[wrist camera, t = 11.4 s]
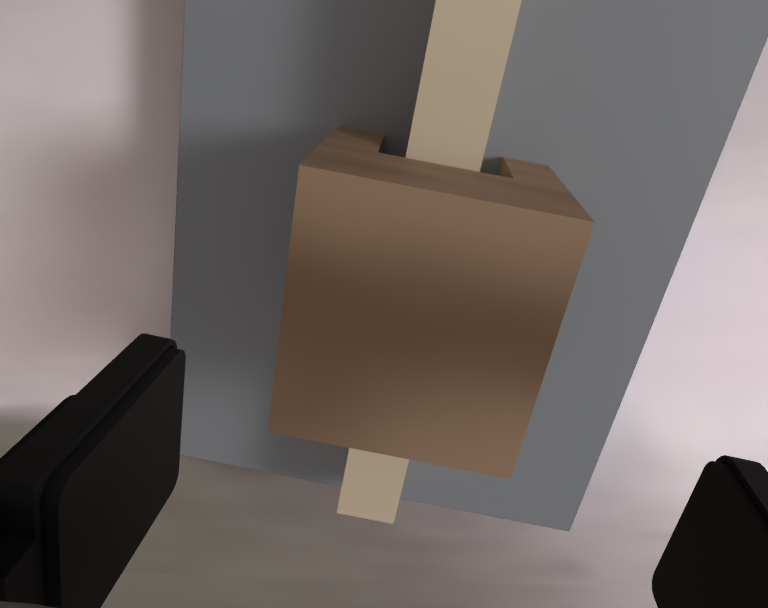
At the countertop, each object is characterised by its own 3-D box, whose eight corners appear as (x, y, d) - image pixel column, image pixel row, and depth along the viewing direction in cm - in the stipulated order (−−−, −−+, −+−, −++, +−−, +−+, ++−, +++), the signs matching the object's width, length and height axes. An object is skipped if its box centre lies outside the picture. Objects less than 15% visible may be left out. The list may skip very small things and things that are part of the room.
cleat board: (561, 504, 26) (583, 583, 22) (180, 429, 26) (137, 495, 22) (772, -41, 17) (861, -59, 14) (211, -153, 17) (151, -200, 14)
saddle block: (491, 364, 22) (510, 479, 16) (310, 329, 22) (267, 432, 16) (548, 165, 19) (594, 222, 13) (339, 125, 19) (299, 164, 13)
